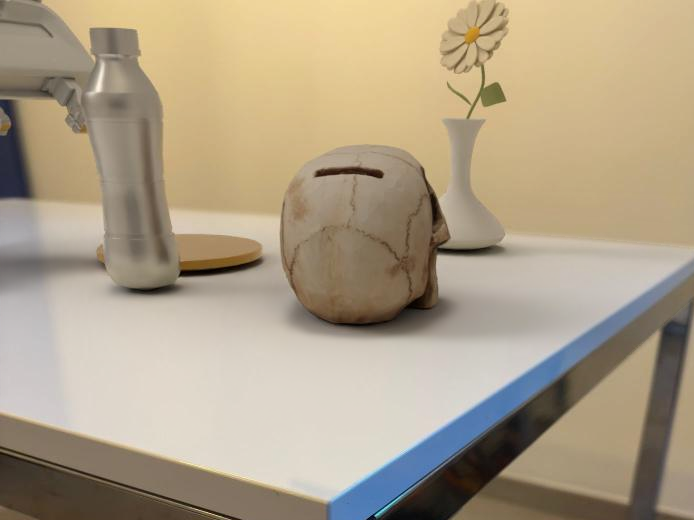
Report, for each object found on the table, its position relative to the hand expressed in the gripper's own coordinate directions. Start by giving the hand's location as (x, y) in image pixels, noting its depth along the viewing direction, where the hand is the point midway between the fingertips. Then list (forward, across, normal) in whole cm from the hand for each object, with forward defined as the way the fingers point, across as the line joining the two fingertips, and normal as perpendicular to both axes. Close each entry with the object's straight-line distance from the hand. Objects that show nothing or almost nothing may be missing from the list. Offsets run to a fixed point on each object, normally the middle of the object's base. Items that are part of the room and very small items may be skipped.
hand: (46, 129), depth 68 cm
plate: (+11, +13, +7) cm, 18 cm away
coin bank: (+29, +5, -12) cm, 32 cm away
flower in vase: (+27, +36, -9) cm, 46 cm away
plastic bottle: (+15, +1, +3) cm, 16 cm away
